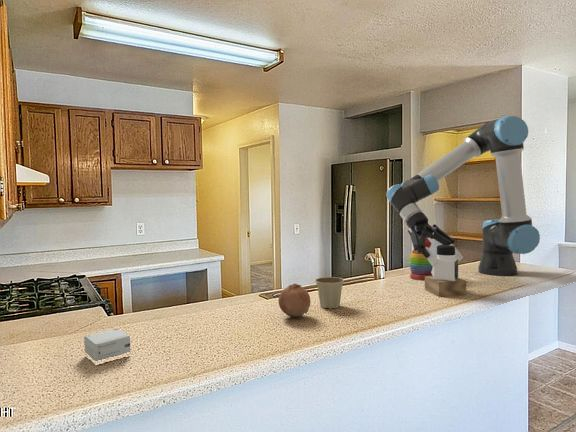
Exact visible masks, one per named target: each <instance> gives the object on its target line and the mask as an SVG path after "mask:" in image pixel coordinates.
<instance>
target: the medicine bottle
mask: <svg viewBox="0 0 576 432" xmlns="http://www.w3.org/2000/svg"><path fill="white" fill-rule="evenodd" d="M453 245H454V244H453ZM453 245H443V244H439V245H437V246H436V259H437V260H438V261H439V262H438V263H437V264H436V265H435V266H433V268H434V280H444V281H455V280H456V279H457V278H459V262H458V258H454V257H455V247H456V246H455V245H454V246H455V247H454V246H453Z"/></svg>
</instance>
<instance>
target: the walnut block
mask: <svg viewBox="0 0 576 432" xmlns="http://www.w3.org/2000/svg"><path fill="white" fill-rule="evenodd" d="M424 291H426V292H428V293H430V294H433V295H435V296H437V297H438V298H439V297H455V296H466V295H467V280H465V279H463V278H460V277H458V278H457V279H456V280H455V281H444V280H434V276H425V280H424Z"/></svg>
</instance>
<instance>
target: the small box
mask: <svg viewBox="0 0 576 432" xmlns="http://www.w3.org/2000/svg"><path fill="white" fill-rule="evenodd" d="M83 338H84V339H83V341H84V353H85V352H86V353H87V354H88V355H89V356H90V357H91V358H92V359H93V360H95V361H98V360H102V359H106V358H109V357H114V356H118V355H121V354H124V353H127V352H130V353H131V337H130V335H129V334H128V333H126V332H125V331H123V330H121V329H120V328H114V329H109V330H105V331H100V332H97V333H93V334H88V335H84V336H83Z"/></svg>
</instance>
